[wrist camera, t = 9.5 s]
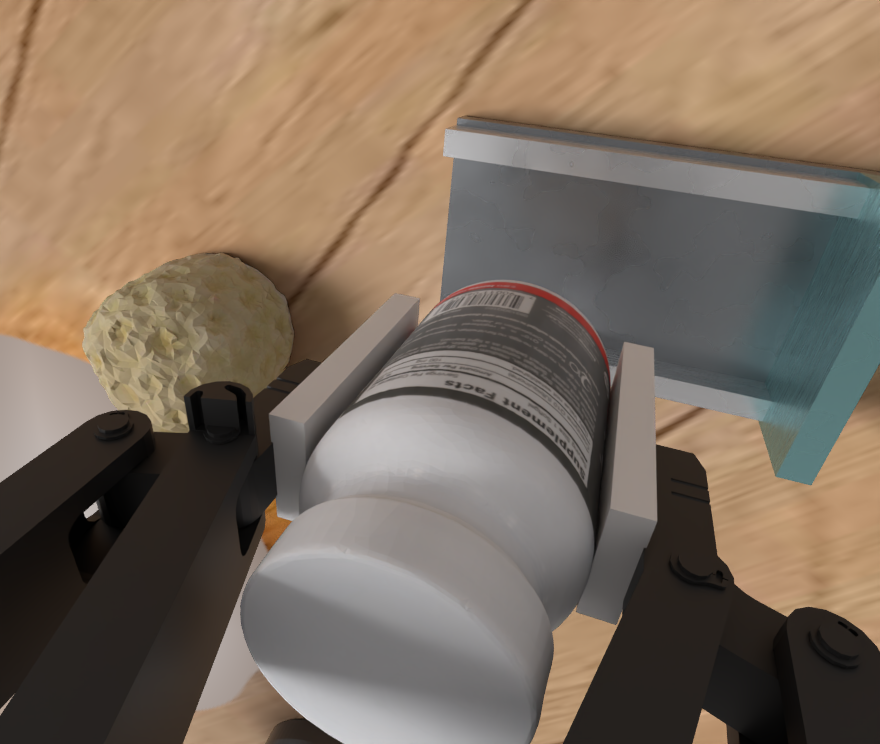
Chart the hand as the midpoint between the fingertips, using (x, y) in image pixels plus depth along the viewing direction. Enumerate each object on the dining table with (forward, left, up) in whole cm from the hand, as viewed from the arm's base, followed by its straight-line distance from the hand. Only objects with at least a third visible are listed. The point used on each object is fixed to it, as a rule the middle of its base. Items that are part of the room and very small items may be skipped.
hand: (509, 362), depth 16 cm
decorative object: (-18, -8, -12) cm, 23 cm away
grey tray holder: (+3, 0, -11) cm, 12 cm away
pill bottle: (0, 0, -1) cm, 1 cm away
